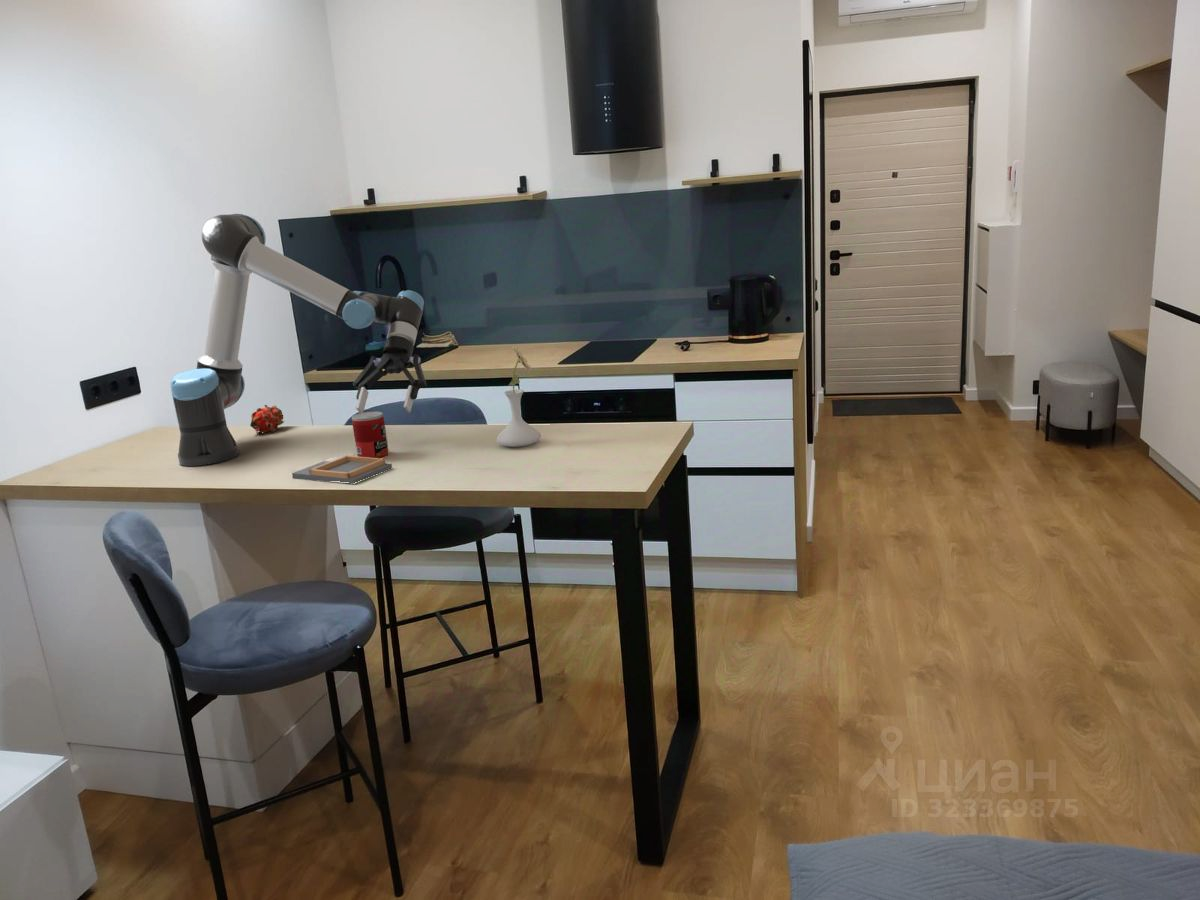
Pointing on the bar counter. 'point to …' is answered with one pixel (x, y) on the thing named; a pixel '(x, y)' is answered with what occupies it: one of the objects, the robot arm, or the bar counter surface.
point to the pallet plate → (344, 469)
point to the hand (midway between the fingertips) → (383, 410)
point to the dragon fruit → (266, 419)
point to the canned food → (370, 435)
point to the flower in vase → (517, 415)
